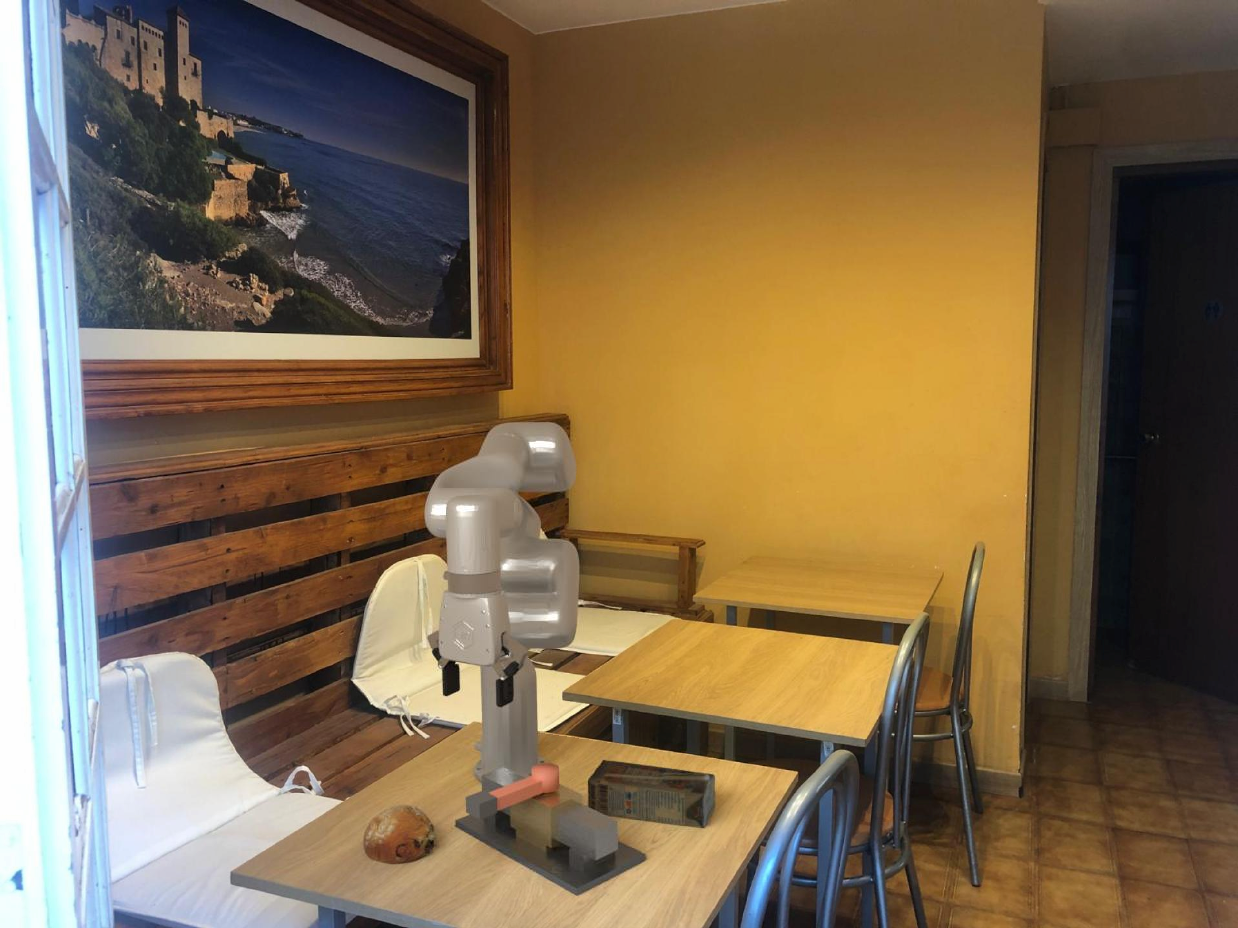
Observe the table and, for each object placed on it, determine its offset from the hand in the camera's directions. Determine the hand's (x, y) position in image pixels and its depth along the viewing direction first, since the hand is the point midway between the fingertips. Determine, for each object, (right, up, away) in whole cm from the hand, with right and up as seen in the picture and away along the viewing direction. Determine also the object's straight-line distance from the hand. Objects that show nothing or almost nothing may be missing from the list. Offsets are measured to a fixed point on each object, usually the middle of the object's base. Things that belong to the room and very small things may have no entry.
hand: (477, 698), depth 142 cm
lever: (+6, -14, -1) cm, 15 cm away
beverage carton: (+26, -21, +13) cm, 36 cm away
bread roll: (-11, -23, +2) cm, 26 cm away
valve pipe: (+10, -22, +3) cm, 24 cm away
